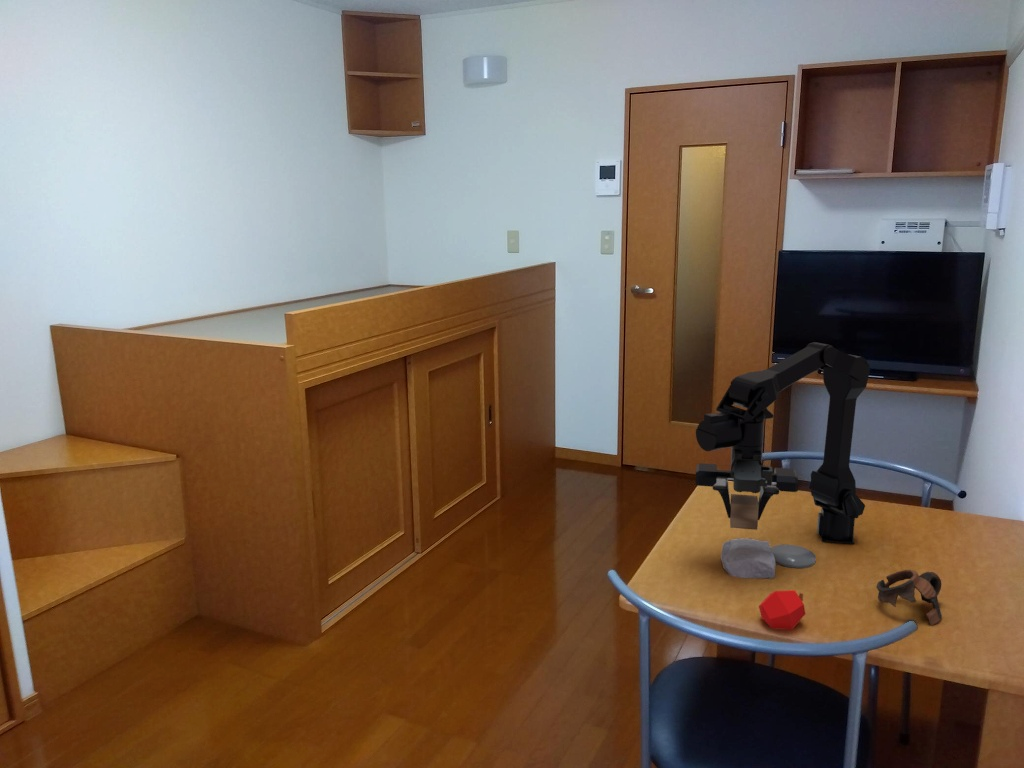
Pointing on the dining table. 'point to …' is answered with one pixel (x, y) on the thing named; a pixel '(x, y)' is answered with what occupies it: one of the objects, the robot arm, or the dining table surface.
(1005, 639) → the dining table surface
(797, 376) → the robot arm
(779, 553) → the slate coaster
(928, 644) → the dining table surface
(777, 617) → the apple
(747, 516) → the walnut cube
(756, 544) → the stone block
